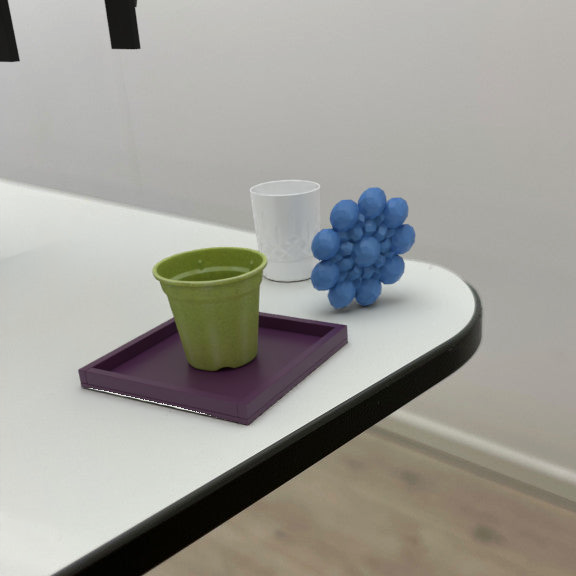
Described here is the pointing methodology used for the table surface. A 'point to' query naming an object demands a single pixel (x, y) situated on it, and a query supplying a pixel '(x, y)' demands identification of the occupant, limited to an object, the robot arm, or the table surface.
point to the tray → (224, 382)
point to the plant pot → (215, 303)
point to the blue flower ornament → (362, 248)
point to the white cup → (287, 226)
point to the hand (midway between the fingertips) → (70, 55)
